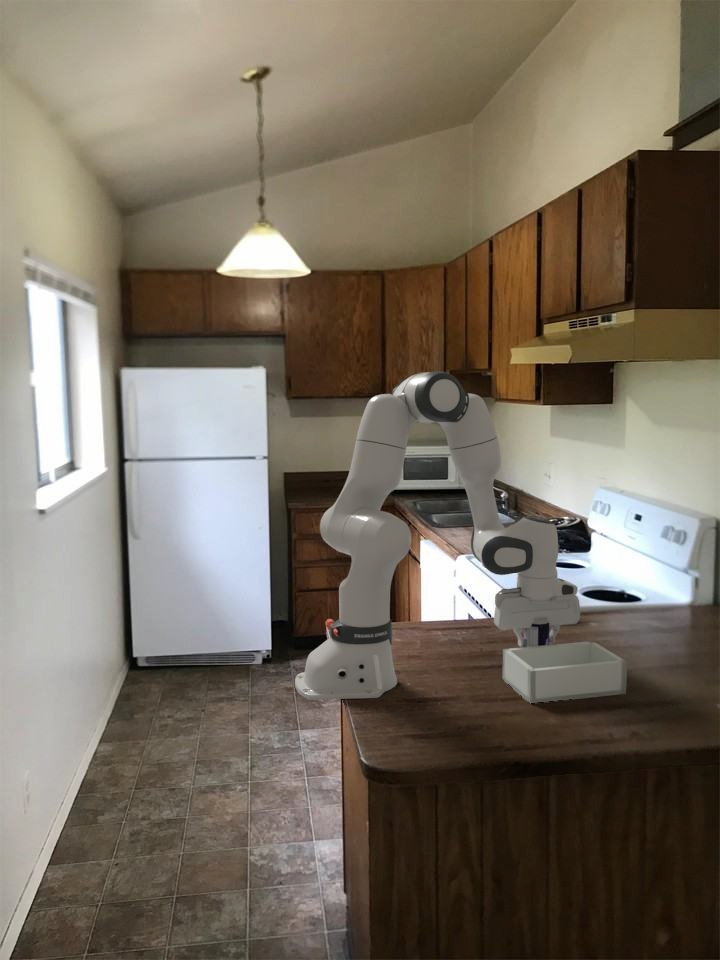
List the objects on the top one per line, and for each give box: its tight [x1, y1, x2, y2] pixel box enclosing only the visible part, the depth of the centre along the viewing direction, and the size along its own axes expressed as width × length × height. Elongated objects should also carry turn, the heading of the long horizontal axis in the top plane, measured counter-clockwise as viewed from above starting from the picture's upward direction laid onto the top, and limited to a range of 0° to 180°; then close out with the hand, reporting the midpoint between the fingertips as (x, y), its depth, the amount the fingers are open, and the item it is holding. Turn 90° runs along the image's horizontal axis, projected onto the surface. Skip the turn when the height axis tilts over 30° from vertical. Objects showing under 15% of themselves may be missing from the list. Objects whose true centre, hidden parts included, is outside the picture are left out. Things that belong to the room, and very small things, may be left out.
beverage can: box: [523, 618, 550, 647], centre depth 184 cm, size 6×6×12 cm
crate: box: [501, 640, 628, 705], centre depth 172 cm, size 22×14×7 cm, turn 103°
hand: (536, 644), depth 185 cm, fingers closed on beverage can, 6 cm apart
